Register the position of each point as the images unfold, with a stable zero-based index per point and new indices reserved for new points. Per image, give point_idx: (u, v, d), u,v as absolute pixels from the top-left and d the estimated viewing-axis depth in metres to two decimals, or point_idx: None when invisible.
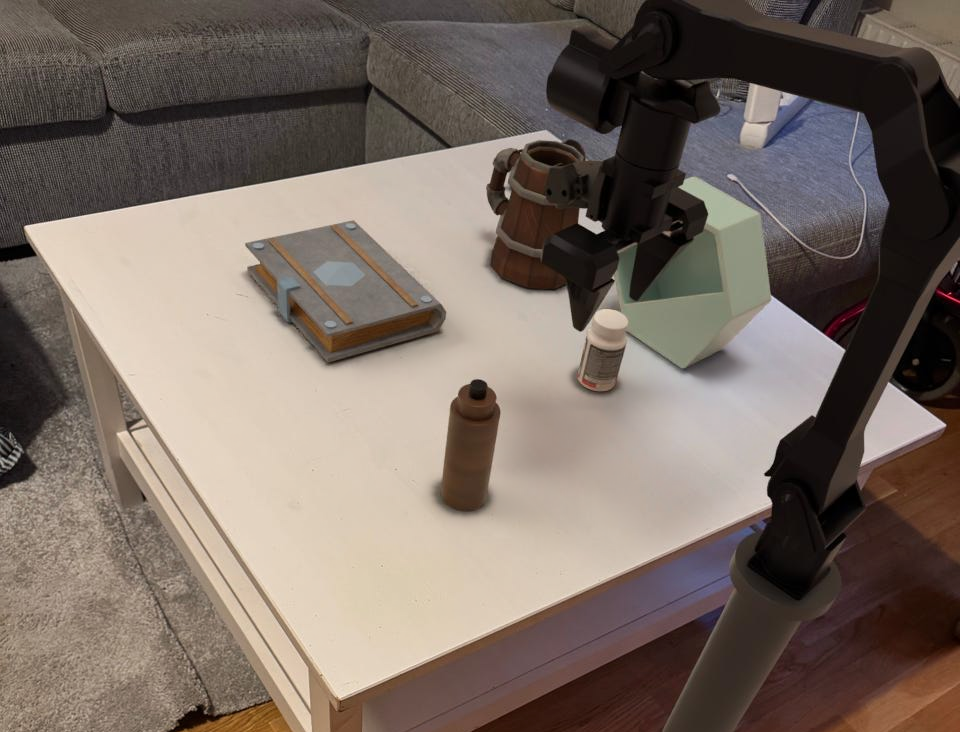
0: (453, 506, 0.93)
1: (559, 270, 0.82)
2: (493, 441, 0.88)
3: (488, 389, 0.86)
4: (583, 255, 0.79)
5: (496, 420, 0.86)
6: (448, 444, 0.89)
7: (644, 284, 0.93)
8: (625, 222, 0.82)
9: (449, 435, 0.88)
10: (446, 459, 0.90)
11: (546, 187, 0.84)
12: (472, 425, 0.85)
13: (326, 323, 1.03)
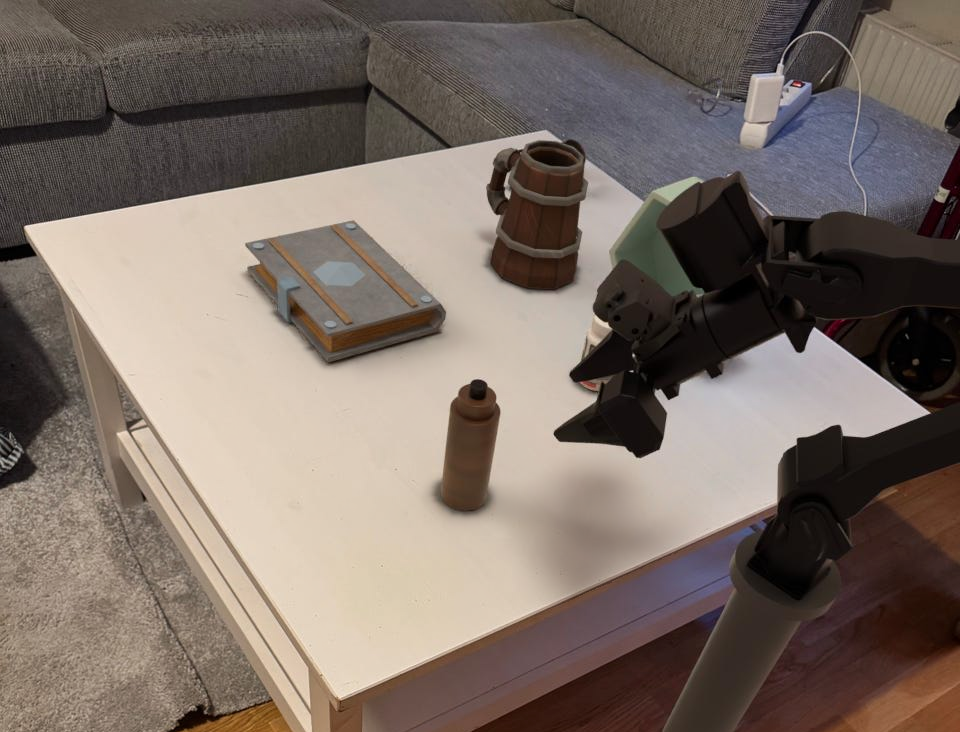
0: (453, 506, 0.93)
1: (620, 430, 0.74)
2: (493, 441, 0.88)
3: (488, 389, 0.86)
4: (657, 434, 0.74)
5: (496, 420, 0.86)
6: (448, 444, 0.89)
7: (592, 374, 0.86)
8: (670, 379, 0.77)
9: (449, 435, 0.88)
10: (446, 459, 0.90)
11: (617, 313, 0.72)
12: (472, 425, 0.85)
13: (326, 323, 1.03)
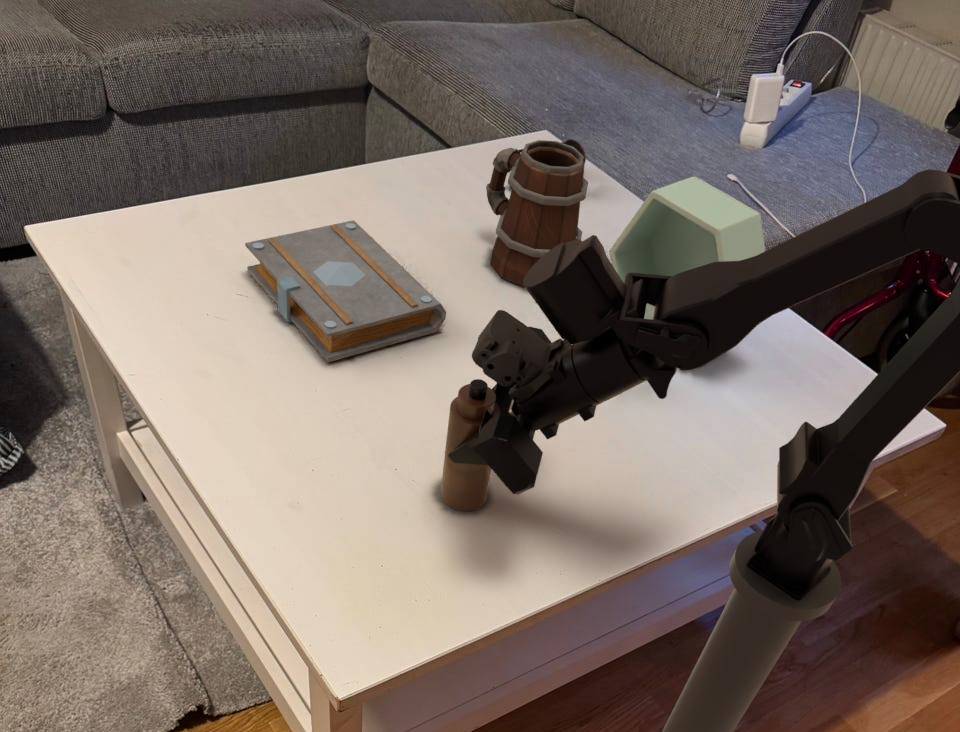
0: (453, 506, 0.93)
1: (496, 470, 0.79)
2: None
3: (488, 389, 0.86)
4: (529, 473, 0.79)
5: None
6: (448, 444, 0.89)
7: None
8: (547, 421, 0.82)
9: (449, 435, 0.88)
10: (446, 459, 0.90)
11: (490, 362, 0.77)
12: (472, 425, 0.85)
13: (326, 323, 1.03)
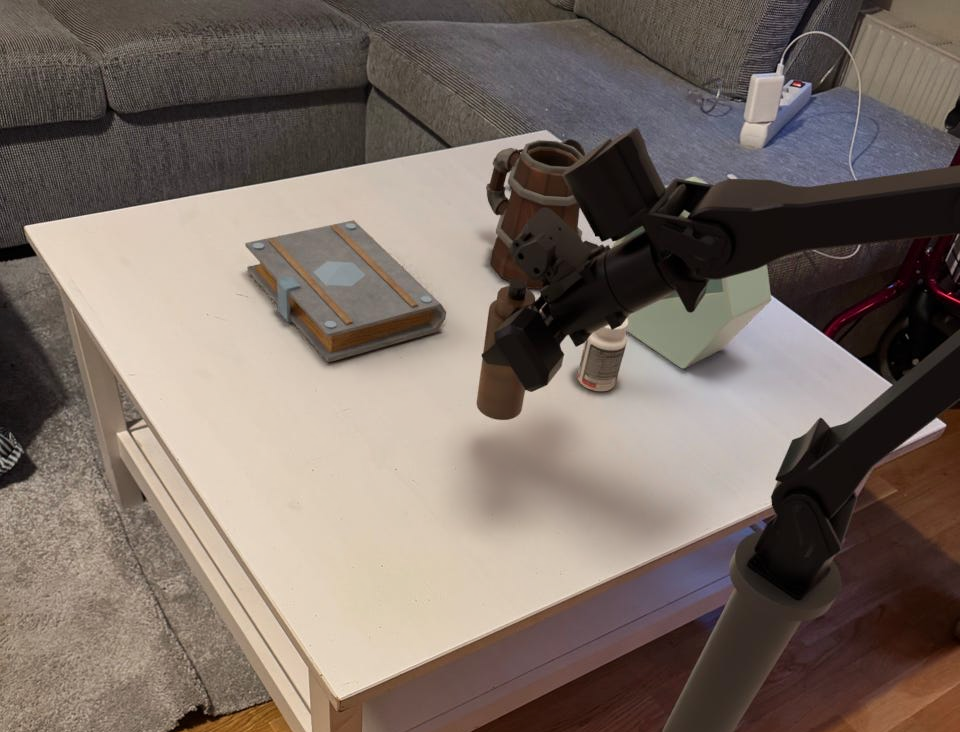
0: (485, 413, 0.94)
1: (510, 360, 0.80)
2: None
3: (529, 293, 0.86)
4: (542, 368, 0.79)
5: None
6: (484, 345, 0.89)
7: None
8: (575, 325, 0.82)
9: (486, 335, 0.89)
10: (482, 361, 0.91)
11: (520, 250, 0.78)
12: None
13: (326, 323, 1.03)
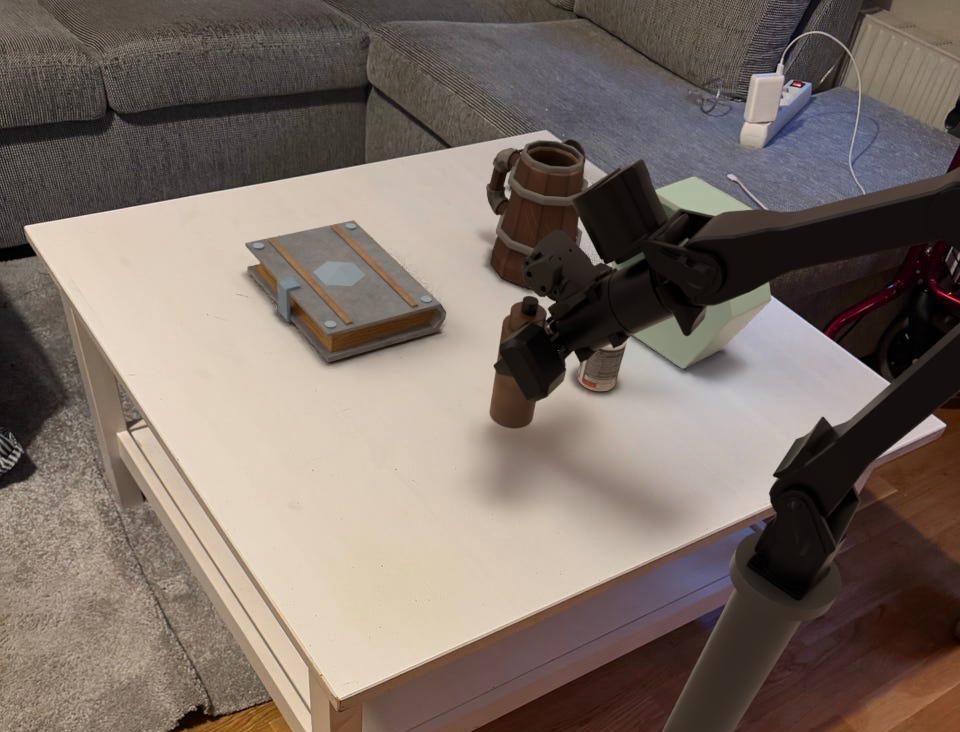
0: (496, 420, 0.98)
1: (513, 372, 0.84)
2: None
3: (541, 309, 0.91)
4: (543, 381, 0.83)
5: None
6: None
7: None
8: (580, 342, 0.86)
9: None
10: (495, 372, 0.95)
11: (529, 269, 0.82)
12: None
13: (326, 323, 1.03)
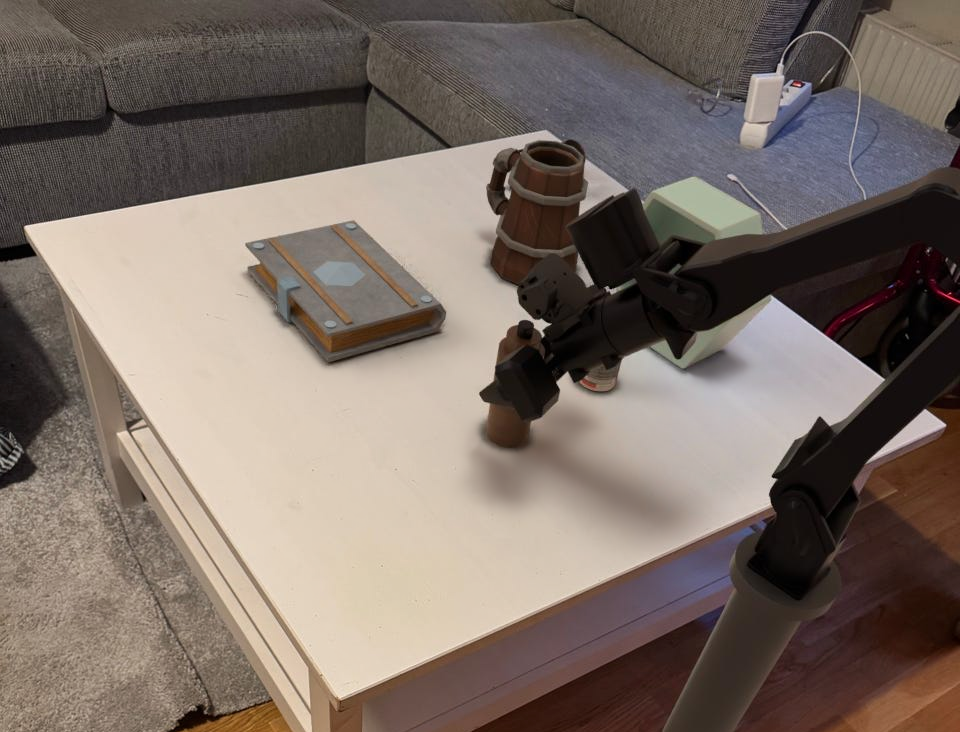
0: (492, 439, 1.01)
1: (508, 393, 0.86)
2: None
3: (537, 332, 0.93)
4: (537, 402, 0.85)
5: None
6: (494, 377, 0.96)
7: None
8: (573, 363, 0.88)
9: None
10: None
11: (524, 292, 0.84)
12: None
13: (326, 323, 1.03)
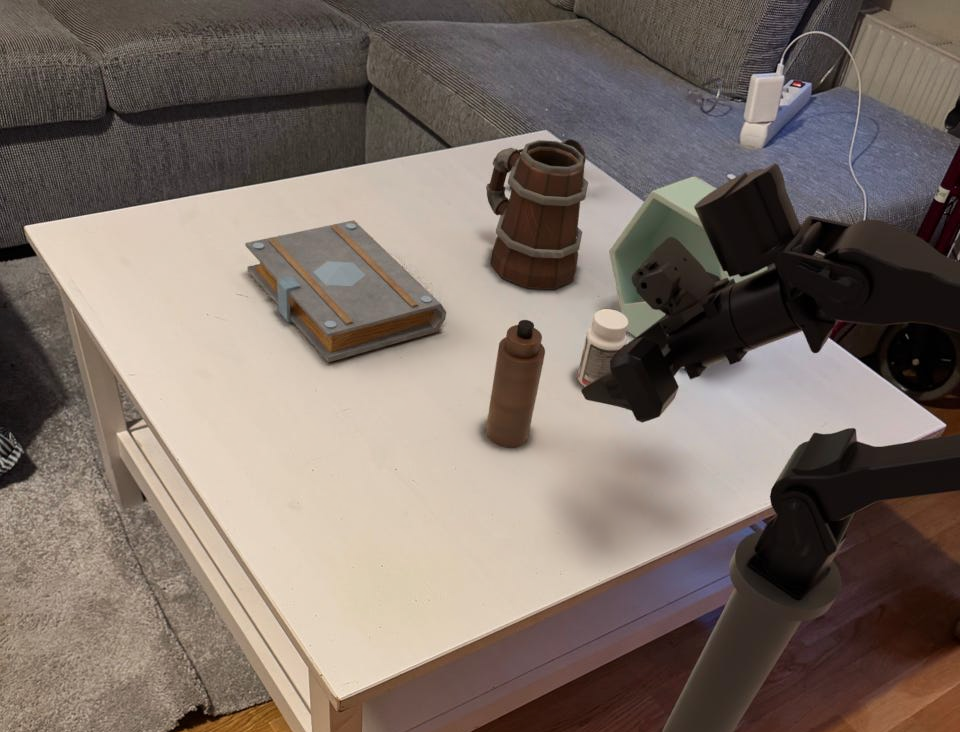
0: (492, 439, 1.01)
1: (624, 390, 0.79)
2: (533, 382, 0.94)
3: (537, 332, 0.93)
4: (656, 400, 0.78)
5: (536, 361, 0.92)
6: (494, 377, 0.96)
7: None
8: (692, 358, 0.81)
9: (495, 368, 0.95)
10: None
11: (644, 280, 0.77)
12: (512, 360, 0.92)
13: (326, 323, 1.03)
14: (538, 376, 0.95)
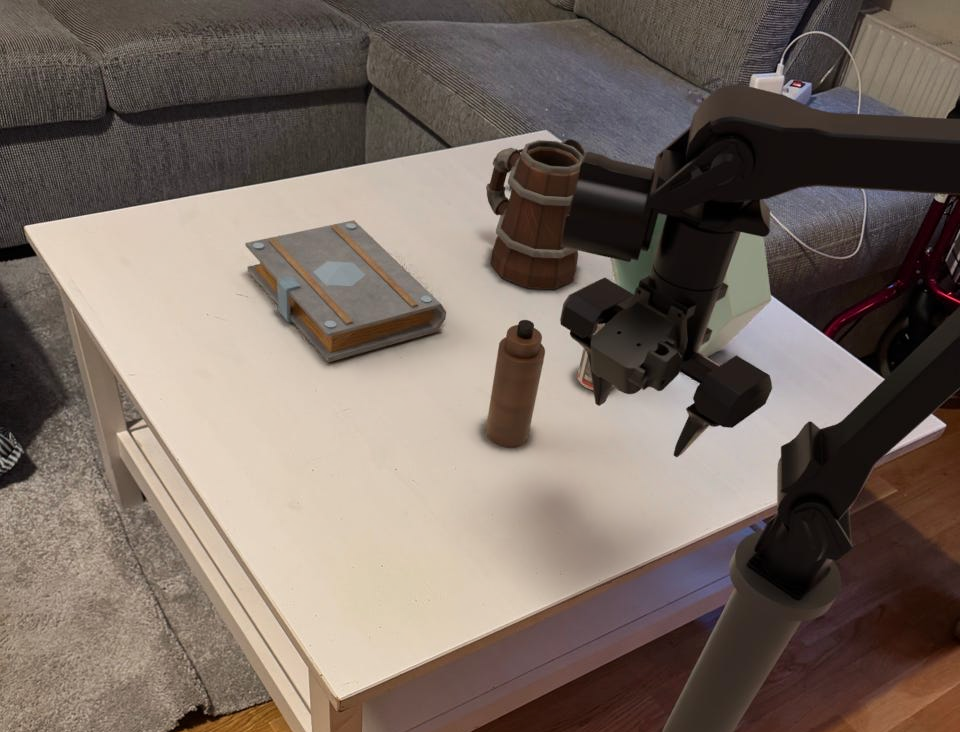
0: (492, 439, 1.01)
1: (747, 414, 0.75)
2: (533, 382, 0.94)
3: (537, 332, 0.93)
4: (766, 381, 0.74)
5: (536, 361, 0.92)
6: (494, 377, 0.96)
7: (609, 383, 0.85)
8: (703, 336, 0.75)
9: (495, 368, 0.95)
10: None
11: (661, 381, 0.71)
12: (512, 360, 0.92)
13: (326, 323, 1.03)
14: (538, 376, 0.95)
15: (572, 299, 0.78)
